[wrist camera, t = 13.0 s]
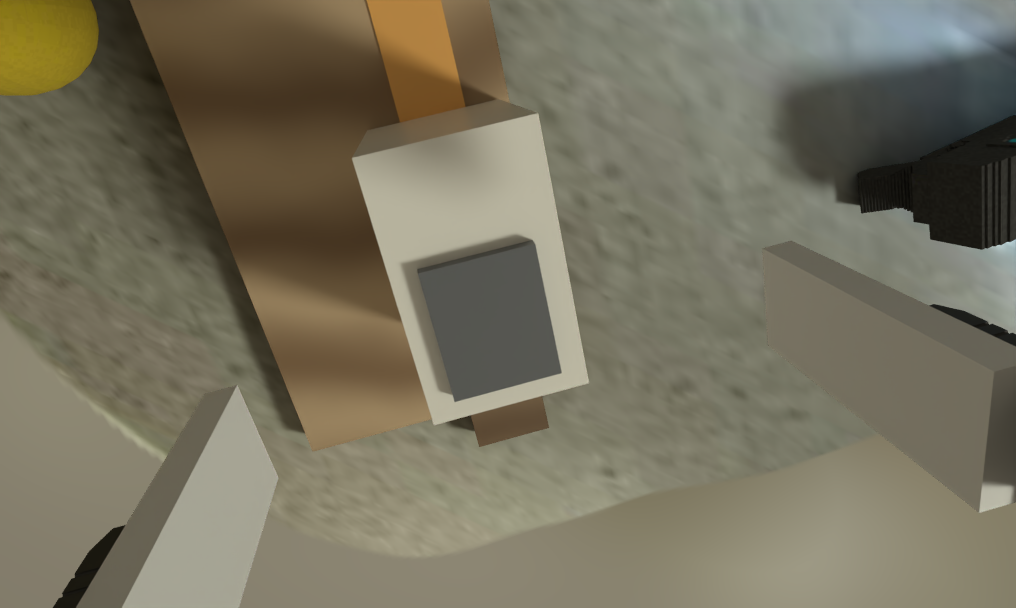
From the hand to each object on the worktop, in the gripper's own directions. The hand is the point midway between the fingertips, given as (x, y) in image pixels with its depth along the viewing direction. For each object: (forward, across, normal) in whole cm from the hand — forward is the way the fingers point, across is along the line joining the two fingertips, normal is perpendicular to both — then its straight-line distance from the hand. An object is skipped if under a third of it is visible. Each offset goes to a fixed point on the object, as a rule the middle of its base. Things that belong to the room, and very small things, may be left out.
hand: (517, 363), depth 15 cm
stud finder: (+16, 0, 0) cm, 16 cm away
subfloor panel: (+17, -4, +1) cm, 18 cm away
